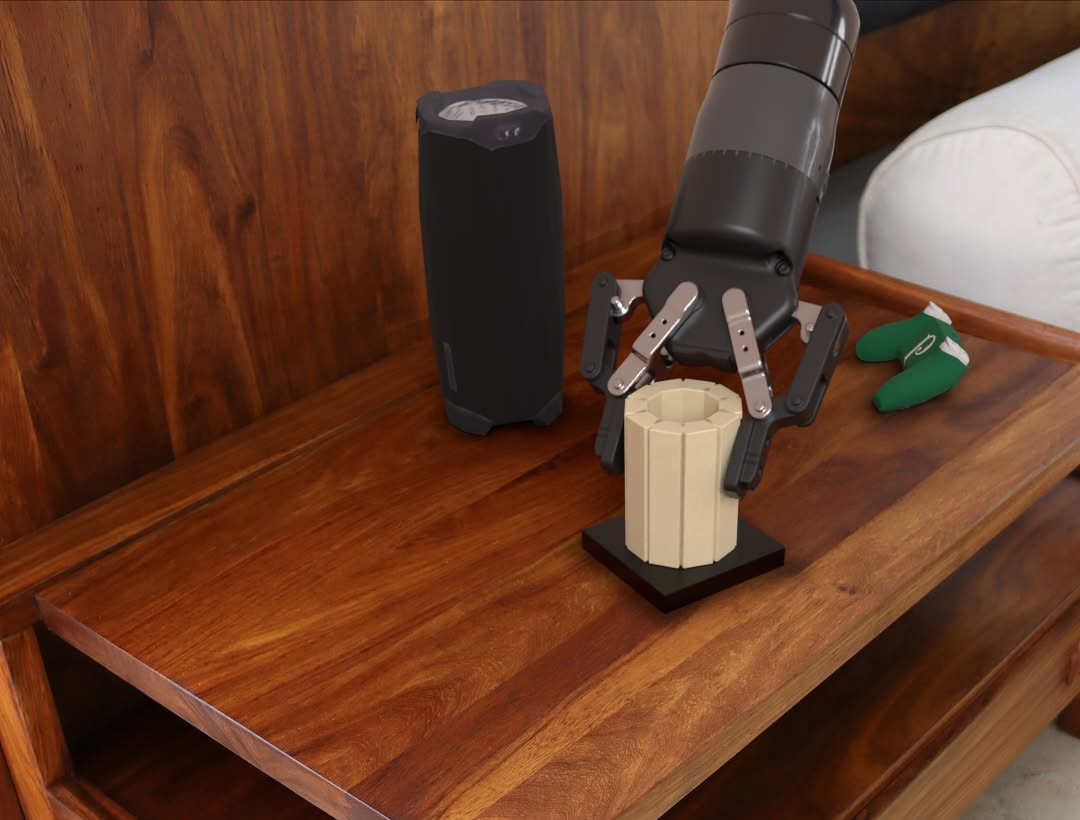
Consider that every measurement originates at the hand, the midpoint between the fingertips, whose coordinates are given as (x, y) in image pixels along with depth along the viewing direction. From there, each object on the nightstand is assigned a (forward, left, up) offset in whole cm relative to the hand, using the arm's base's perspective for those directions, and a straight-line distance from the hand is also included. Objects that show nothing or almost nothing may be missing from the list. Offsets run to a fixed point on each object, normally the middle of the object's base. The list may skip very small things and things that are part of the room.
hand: (671, 482), depth 76 cm
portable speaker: (-2, -22, -6) cm, 23 cm away
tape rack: (-1, -1, -6) cm, 6 cm away
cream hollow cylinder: (-1, -1, -4) cm, 5 cm away
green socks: (-26, -9, -6) cm, 28 cm away
